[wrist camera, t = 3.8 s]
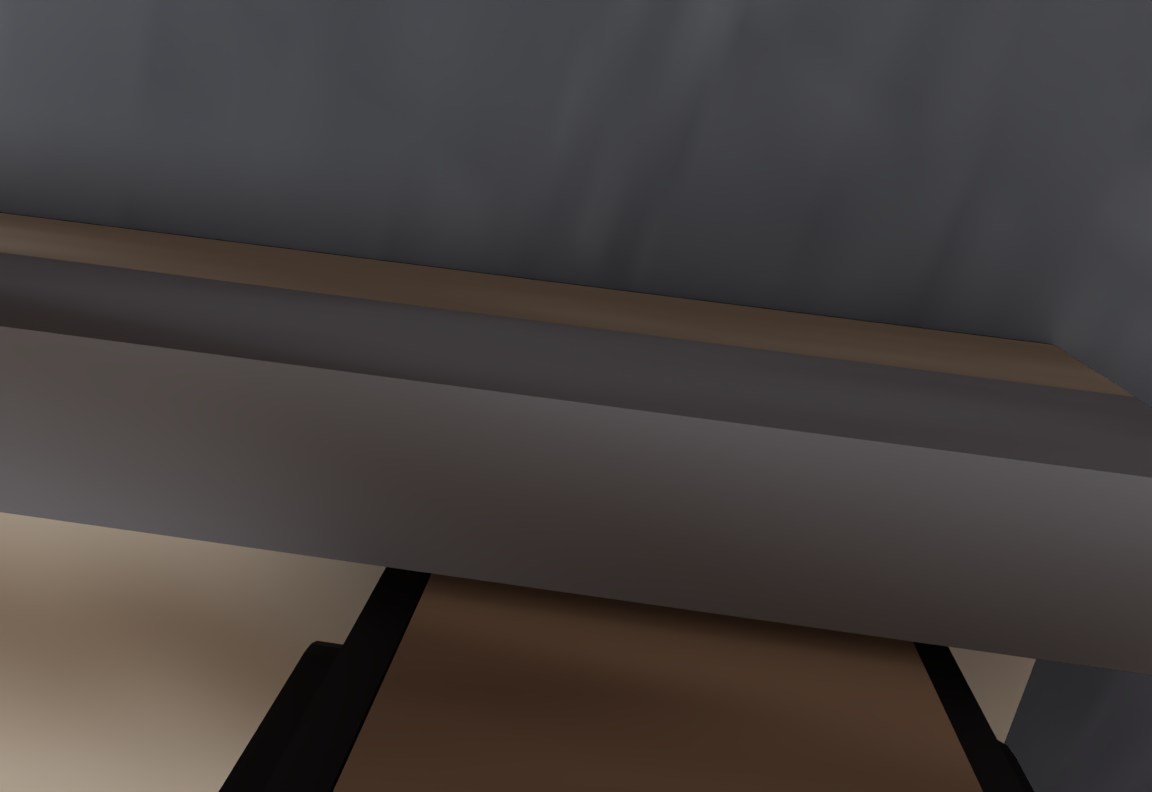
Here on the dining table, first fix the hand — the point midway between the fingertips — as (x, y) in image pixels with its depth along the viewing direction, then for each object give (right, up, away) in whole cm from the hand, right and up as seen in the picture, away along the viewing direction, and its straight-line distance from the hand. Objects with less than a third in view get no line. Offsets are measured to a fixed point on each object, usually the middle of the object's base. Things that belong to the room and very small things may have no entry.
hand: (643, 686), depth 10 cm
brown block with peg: (0, -2, +1) cm, 2 cm away
